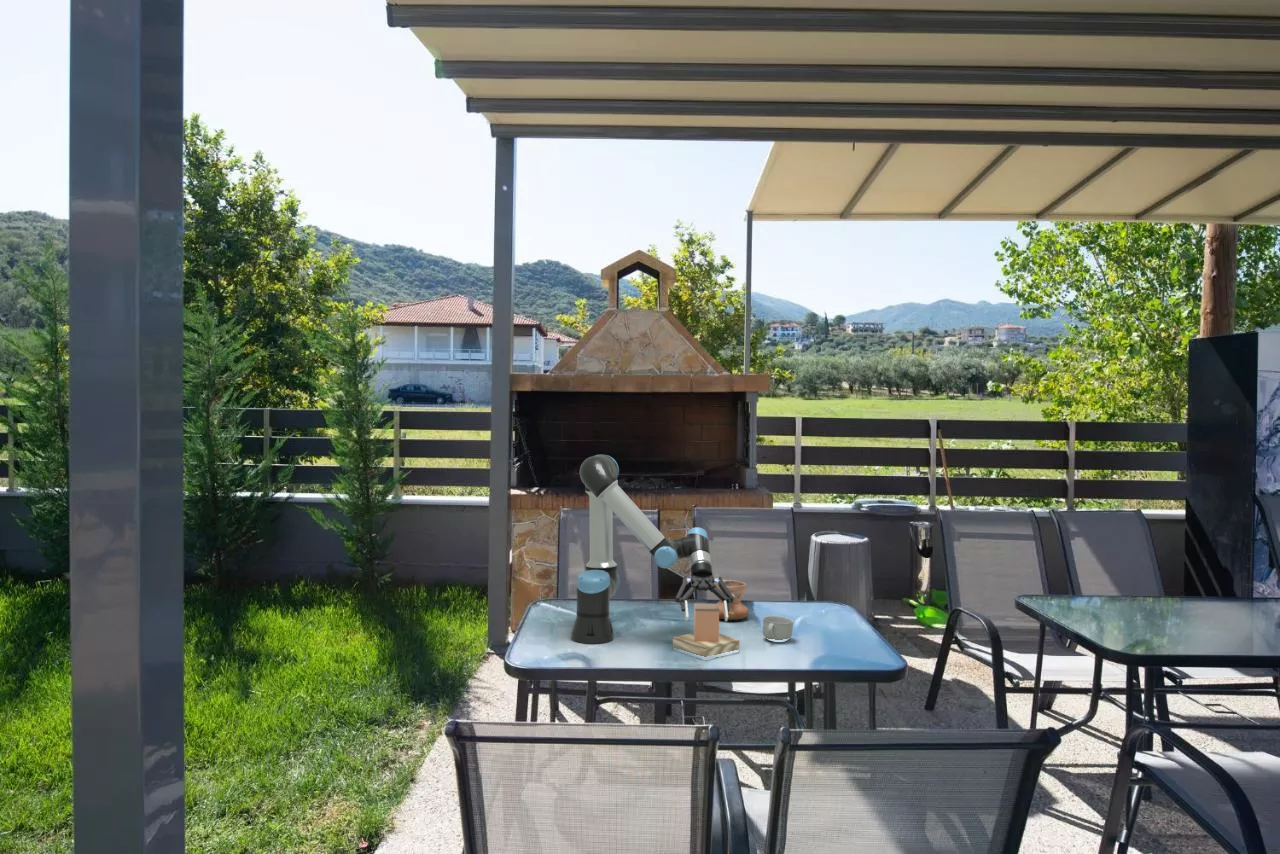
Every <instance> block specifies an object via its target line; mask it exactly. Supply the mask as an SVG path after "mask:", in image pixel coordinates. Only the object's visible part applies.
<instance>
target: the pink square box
mask: <svg viewBox="0 0 1280 854" xmlns="http://www.w3.org/2000/svg"><path fill="white" fill-rule="evenodd" d="M692 633H693V635H694V640H695V641H705V642H719V634H720V619H719V607H718V604H716V603H698V602H697V603H693V632H692Z"/></svg>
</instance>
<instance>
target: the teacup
mask: <svg viewBox="0 0 1280 854" xmlns="http://www.w3.org/2000/svg"><path fill="white" fill-rule="evenodd" d="M762 621H763V622H762V633H763V634H762V635H763V637H764V638H765V639H767V638H768V639H775V640H783V639H788V638H790V639H791V638H792V636H793V629H794V620H793V619H791V618H789V617H786V616H782V615H781V616H780V615H766V616H763V618H762Z"/></svg>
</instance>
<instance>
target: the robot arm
mask: <svg viewBox="0 0 1280 854" xmlns="http://www.w3.org/2000/svg"><path fill="white" fill-rule="evenodd" d="M619 472H620V468H619V465H618V463H617V461H616V460H615V459H614V458H613V457H612V456H610V455H607V454H596V455H592V456H589V457H588V458H585V460H584V461H583V462H582V463H581V465H580V468H579V477H580V480H581V482H582V484H584V487H585V489H584V490H585V491H584V492H585V493H586V494H588V497H589V500H588V501H589V560H588V561H587V563H586V564H585V570H584V571H581V572H580V573H579V574H578V575H577V580H576V618H575V620H574V623H573V628H572V629H571V634H570V635H571V637H570V638H571V640H572V641H574V642H576V641H577V642H576V643H580V642H581V644H589V643H597V644H604V643H603V642H605V643H609V642H611V640H612V641H613V640H614V639H615V638H614V637H615V636H614V635H615V633H614V632H615V631H614V628H613V626H612V622H611V619H610V599H612V598H614V596H615V595H616V594H617V592H618V591H619V587H620V578H619V577H620V576H619V574H618V563H616V562H615V561H614V548H613V547H614V546H613V544H614V542H613V541H614V539H613V538H614V535H613V534H614V533H613V531H614V530H613V529H614V527H613V525H614V524H613V515H616V516H617V518H618V519H619V520H620V521H621V523H623V524H624V525H625V526H626V528H627V529H628V530H629V531H630V532H631V533H632V534H633V535H634V536H635V538H636V539H637V540H638V542H640V543H641V544H642V546H643V547H644V548H645V549H646V550H647V551H648V552H649V553H650V555H652V557H653V558H654V562H655V564H656V565H657V566H658V567H659V568H662V569H669V568H671V567H674V565H675V564H676V563H677V561H679V560H681V559H682V560H683V559H688V558H689V567H690V576H691V578H689V577H687V576H685V575H684V576H683V578H682V584H681V586H680V588H679V589H678V592H677V594H676V596H675V600H674V601H675V603H679V604H680V608H681V612H684V620H685V622H688V621H689V618H690V617H689V608H688V607H689V605H688V601H687V600H689V598H690V597H691V596H692V595H693V593H695V592H696V591H697V590H698V592H700V591H704V592H706V591H707V592H708V591H710V593H713V594H714V595H715V597H717V598H718V599H720V600H722V601H723V610H724V617H725V620H724V622H728V612H729V610H730V604H729V603H732V602H733V600H734V596H733V595H732V594H731V592H730V591H729V589H728V588H727V587H726V585H725V584H724V582H723V580H724V579H723V577H722V576H719V577H717V578H714V575H713V568H712V562H711V561H712V560H711V554H710V543H709V537H708V533H707V530H705V529H704V528H702V527H692V528H691V529H689V530H688V531H687V532H686V536H683V537H679V538H674V539H669V540H668V539H667V538H666V537H665V536H664V534H662V533H661V531H660V530H659V529H658V528H657V527H656V526H655V524H653V522H652V521H651V520H650V519H649V518H648V517H647V515H645V514H644V512H643V511H642V510H641V509H640V508H639V507H638V506H637V504H635V502H634V501H633V500H632V499H631V498H630V497H629V496H628V495H627V493H626V492H625V491H624V490H623V489H622V488H621V486H619V480H618V477H619V474H620V473H619ZM689 583H691V585H692V586H690V588H688V590H687V591H686V592H685V593H684V591H685V590H686V588H687V587H686V586H687V585H689ZM715 583H716V584H717V585H719V587H720V589H721V590H722V592H723V593H722V592H721V591H720V590H719V589H718V588H717V587H716V586H715ZM683 593H684V594H683ZM682 595H683V596H682ZM720 600H719V601H720ZM608 641H609V642H608Z"/></svg>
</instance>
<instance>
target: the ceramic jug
mask: <svg viewBox="0 0 1280 854" xmlns="http://www.w3.org/2000/svg"><path fill="white" fill-rule="evenodd" d="M722 580H723V582H724V584H725V585H726V587H727V588H728V589H729V591H730V592H731V594H732V595H733V596H734V600H733V602H732V603H729V604H730V610H729V612H728V620H735V621H740V620H742V619H745V618H746V617H747V616H749V609H748V607H747V606H746V605H745V604H743V603H742V602H741V601H742V600H743V597H744V594H745V591H746V588H747V583H746V582H743V581H740V580H735V579H722ZM714 584H715V586H716V587H717V588H718V589H719V590H720V591H721V592H722V590H721V589H720V587H719V585H717V584H716V583H715V582H714ZM722 593H723V592H722ZM718 599H719V598H718ZM715 604H718V607H719V620H722V619H724V620H723V621H725V617H724V610H723V601H722V600H720V599H719V601H718V602H717V603H715ZM739 619H740V620H739ZM728 620H727V621H728Z"/></svg>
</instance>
